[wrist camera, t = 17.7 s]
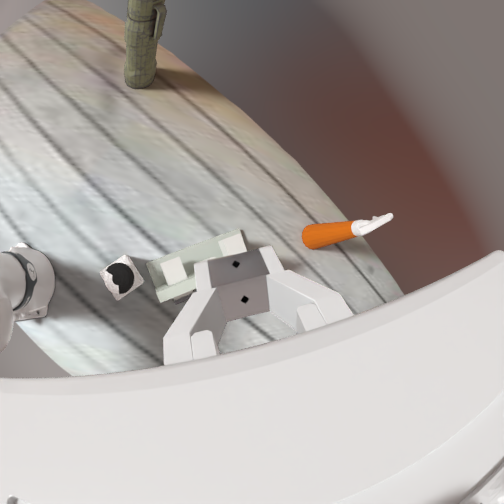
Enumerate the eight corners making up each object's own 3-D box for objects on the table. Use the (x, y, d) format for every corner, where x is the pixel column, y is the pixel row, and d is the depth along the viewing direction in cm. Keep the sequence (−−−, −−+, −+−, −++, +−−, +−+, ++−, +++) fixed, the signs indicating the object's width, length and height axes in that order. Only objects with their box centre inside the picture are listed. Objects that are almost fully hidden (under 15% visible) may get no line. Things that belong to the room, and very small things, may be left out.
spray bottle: (334, 238, 79) (402, 226, 55) (307, 253, 75) (376, 247, 51) (325, 216, 78) (391, 197, 54) (297, 230, 75) (363, 214, 50)
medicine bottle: (128, 255, 59) (123, 252, 47) (144, 281, 60) (143, 284, 48) (104, 271, 56) (94, 272, 45) (120, 297, 57) (113, 304, 46)
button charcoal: (173, 302, 57) (175, 304, 53) (158, 264, 57) (159, 264, 52) (192, 294, 59) (196, 296, 55) (178, 256, 58) (180, 255, 54)
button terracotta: (230, 278, 62) (236, 278, 58) (216, 241, 62) (222, 239, 57) (248, 270, 64) (255, 270, 60) (234, 235, 63) (241, 232, 59)
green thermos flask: (143, 96, 61) (154, -3, 28) (115, 78, 58) (114, -17, 25) (164, 78, 63) (187, -17, 30) (136, 61, 60) (147, -31, 27)
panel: (158, 295, 61) (160, 303, 47) (145, 263, 60) (144, 262, 47) (248, 258, 69) (271, 256, 56) (237, 228, 68) (258, 219, 55)
